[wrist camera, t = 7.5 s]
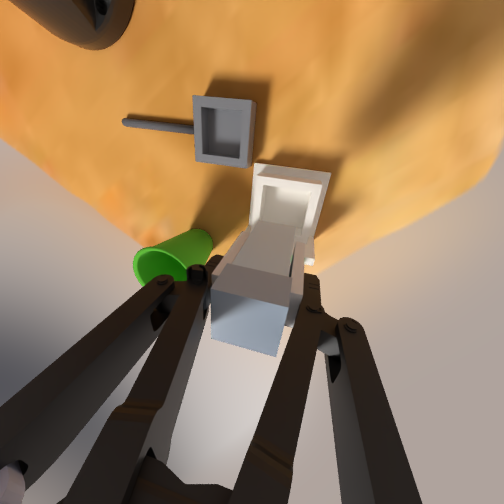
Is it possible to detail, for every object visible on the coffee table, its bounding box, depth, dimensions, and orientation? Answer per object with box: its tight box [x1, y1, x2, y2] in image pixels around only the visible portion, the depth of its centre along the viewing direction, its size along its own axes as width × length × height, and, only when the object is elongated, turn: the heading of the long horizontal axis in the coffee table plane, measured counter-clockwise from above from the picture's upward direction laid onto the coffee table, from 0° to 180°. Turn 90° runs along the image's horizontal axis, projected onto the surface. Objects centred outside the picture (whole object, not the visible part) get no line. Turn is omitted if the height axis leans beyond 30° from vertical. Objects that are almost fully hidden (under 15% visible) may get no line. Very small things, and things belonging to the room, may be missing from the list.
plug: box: [211, 220, 296, 357], centre depth 15 cm, size 4×4×10 cm
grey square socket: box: [193, 95, 257, 168], centre depth 26 cm, size 7×7×3 cm
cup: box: [133, 229, 213, 286], centre depth 32 cm, size 9×9×11 cm
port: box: [244, 162, 331, 266], centre depth 26 cm, size 10×10×8 cm
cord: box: [122, 118, 194, 134], centre depth 28 cm, size 1×12×1 cm, turn 84°
